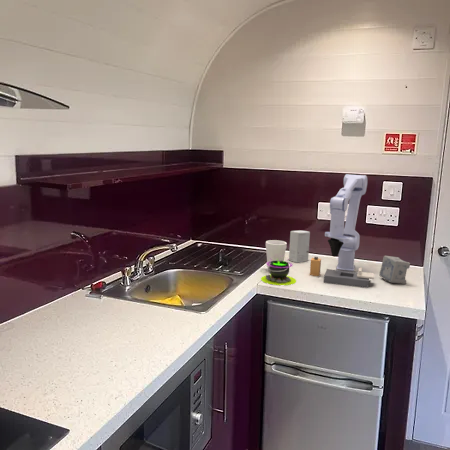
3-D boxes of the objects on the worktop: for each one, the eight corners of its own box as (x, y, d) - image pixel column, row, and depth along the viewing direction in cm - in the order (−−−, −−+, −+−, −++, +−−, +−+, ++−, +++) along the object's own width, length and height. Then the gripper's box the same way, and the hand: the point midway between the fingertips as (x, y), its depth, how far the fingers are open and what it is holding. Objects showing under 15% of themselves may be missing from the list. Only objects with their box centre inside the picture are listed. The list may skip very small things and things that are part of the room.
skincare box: (296, 263, 226) (298, 233, 224) (288, 260, 231) (289, 230, 229) (308, 261, 231) (310, 231, 229) (300, 258, 236) (302, 229, 233)
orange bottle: (311, 272, 211) (312, 255, 209) (320, 273, 210) (321, 256, 208) (309, 275, 207) (310, 257, 206) (318, 276, 206) (320, 258, 204)
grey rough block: (408, 284, 198) (411, 260, 196) (390, 285, 196) (393, 261, 194) (395, 277, 207) (398, 254, 206) (378, 278, 206) (380, 255, 204)
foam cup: (271, 266, 219) (272, 239, 217) (288, 270, 214) (290, 242, 212) (260, 270, 212) (262, 242, 209) (278, 274, 206) (280, 245, 204)
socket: (326, 275, 207) (327, 268, 207) (368, 280, 202) (369, 273, 201) (323, 282, 197) (323, 275, 196) (368, 287, 191) (368, 280, 191)
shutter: (357, 273, 200) (358, 266, 200) (374, 274, 198) (374, 268, 198) (357, 277, 194) (357, 270, 194) (373, 279, 192) (374, 272, 192)
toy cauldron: (253, 278, 199) (254, 253, 197) (278, 273, 209) (279, 249, 207) (279, 288, 188) (280, 261, 186) (303, 281, 198) (305, 256, 196)
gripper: (319, 222, 204) (317, 252, 207) (339, 228, 191) (336, 260, 194) (333, 221, 207) (331, 251, 210) (353, 227, 194) (351, 259, 196)
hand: (334, 256), depth 202 cm, fingers closed
